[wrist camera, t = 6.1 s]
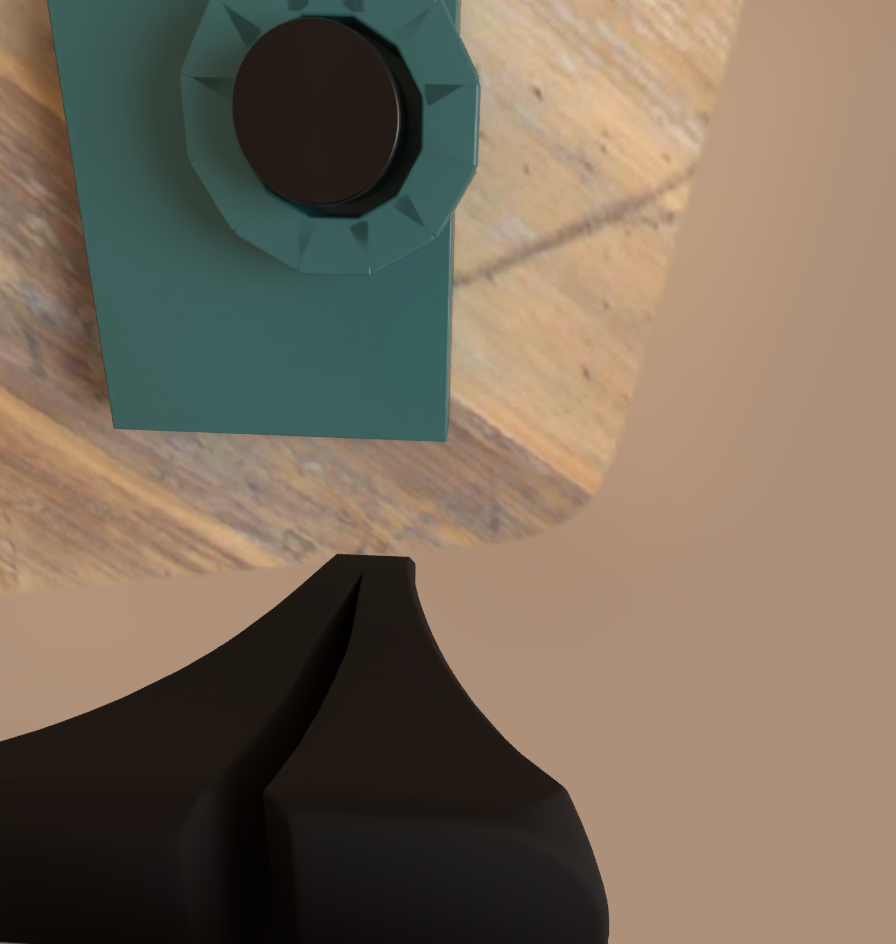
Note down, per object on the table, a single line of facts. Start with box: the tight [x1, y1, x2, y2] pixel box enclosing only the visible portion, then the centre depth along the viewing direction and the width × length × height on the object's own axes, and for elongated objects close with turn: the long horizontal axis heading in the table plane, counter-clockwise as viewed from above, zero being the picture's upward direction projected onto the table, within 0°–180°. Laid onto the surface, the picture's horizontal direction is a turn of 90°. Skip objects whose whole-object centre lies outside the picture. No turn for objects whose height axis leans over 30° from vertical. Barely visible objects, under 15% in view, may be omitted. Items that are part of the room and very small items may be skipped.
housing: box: [47, 0, 480, 442], centre depth 17 cm, size 12×10×4 cm
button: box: [232, 17, 409, 207], centre depth 14 cm, size 3×3×2 cm
